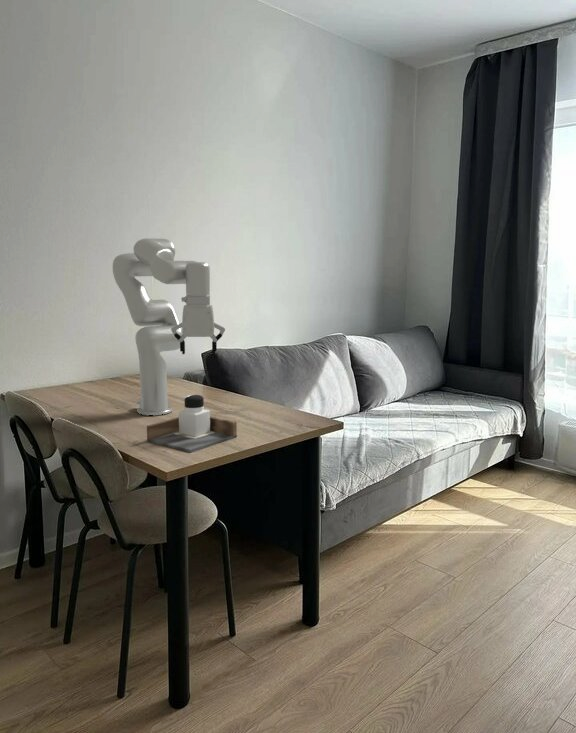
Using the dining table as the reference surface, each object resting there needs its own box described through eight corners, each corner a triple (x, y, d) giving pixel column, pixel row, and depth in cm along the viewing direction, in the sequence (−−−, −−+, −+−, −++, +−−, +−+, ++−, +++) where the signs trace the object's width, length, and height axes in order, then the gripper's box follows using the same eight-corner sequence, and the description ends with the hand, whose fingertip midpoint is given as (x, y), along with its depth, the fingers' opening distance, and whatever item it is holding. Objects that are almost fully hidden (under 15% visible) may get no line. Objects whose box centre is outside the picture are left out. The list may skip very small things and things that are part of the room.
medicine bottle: (210, 431, 200) (209, 395, 198) (195, 437, 194) (194, 399, 192) (193, 428, 204) (192, 392, 202) (178, 433, 198) (177, 396, 196)
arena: (147, 441, 193) (146, 425, 192) (194, 427, 209) (193, 413, 208) (190, 452, 182) (190, 435, 181) (236, 437, 198) (236, 421, 197)
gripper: (169, 302, 197) (170, 355, 200) (225, 302, 198) (225, 355, 202) (171, 299, 204) (172, 351, 207) (225, 300, 206) (225, 351, 209)
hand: (198, 353), depth 204 cm, fingers open, 9 cm apart
